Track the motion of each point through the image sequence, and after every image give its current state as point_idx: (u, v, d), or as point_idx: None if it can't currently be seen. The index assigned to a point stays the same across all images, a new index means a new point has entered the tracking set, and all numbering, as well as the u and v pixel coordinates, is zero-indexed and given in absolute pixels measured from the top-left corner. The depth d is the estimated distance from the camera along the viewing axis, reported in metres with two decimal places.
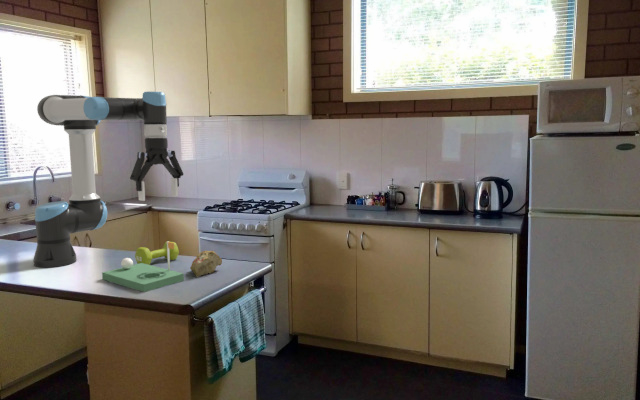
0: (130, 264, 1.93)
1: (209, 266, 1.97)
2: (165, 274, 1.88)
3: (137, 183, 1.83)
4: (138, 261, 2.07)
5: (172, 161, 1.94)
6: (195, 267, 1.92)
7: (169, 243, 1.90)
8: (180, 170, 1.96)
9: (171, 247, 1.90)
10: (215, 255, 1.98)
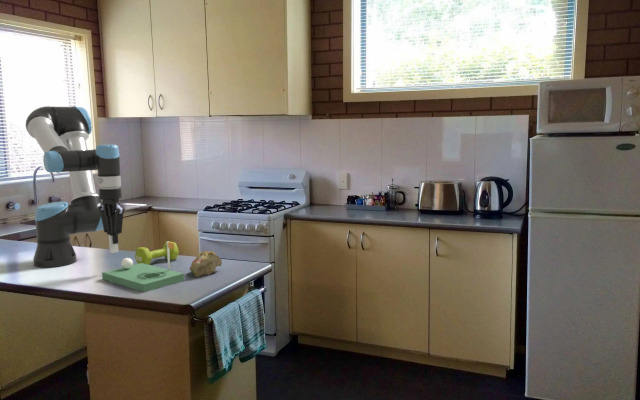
0: (130, 264, 1.93)
1: (208, 267, 1.96)
2: (165, 274, 1.88)
3: None
4: (138, 261, 2.07)
5: None
6: (194, 267, 1.91)
7: (169, 243, 1.90)
8: (115, 228, 1.94)
9: (171, 247, 1.90)
10: (214, 256, 1.97)
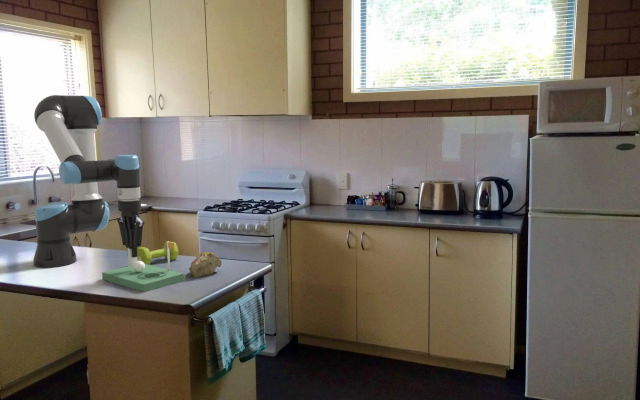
0: None
1: (207, 267, 1.95)
2: (165, 274, 1.88)
3: None
4: None
5: None
6: (192, 268, 1.91)
7: (169, 243, 1.90)
8: (134, 241, 1.88)
9: (171, 247, 1.90)
10: (214, 256, 1.96)
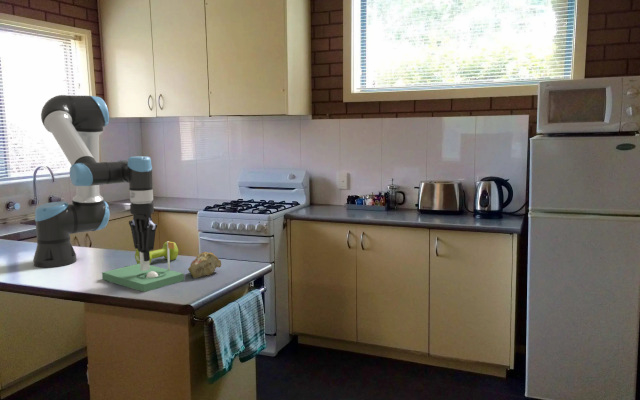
0: None
1: (206, 268, 1.94)
2: (165, 274, 1.88)
3: None
4: (138, 261, 2.07)
5: None
6: (191, 268, 1.90)
7: (169, 243, 1.90)
8: (147, 245, 1.84)
9: (171, 247, 1.90)
10: (213, 257, 1.95)
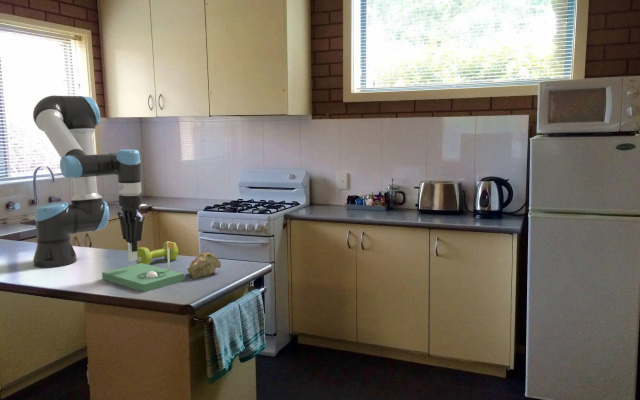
0: None
1: (206, 268, 1.94)
2: (165, 274, 1.88)
3: None
4: (138, 261, 2.07)
5: None
6: (190, 269, 1.90)
7: (169, 243, 1.90)
8: (134, 236, 1.89)
9: (171, 247, 1.90)
10: (213, 257, 1.94)
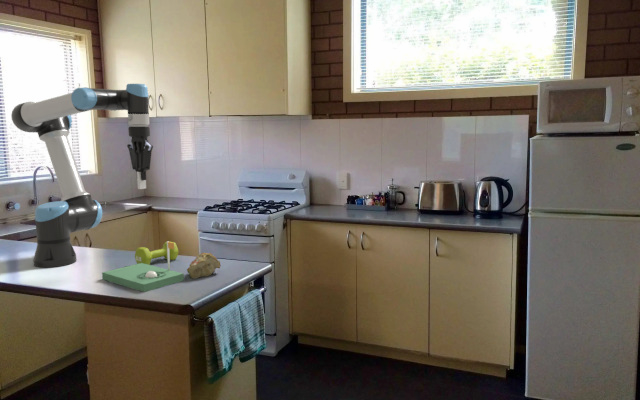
0: None
1: (205, 269, 1.93)
2: (165, 274, 1.88)
3: None
4: (138, 261, 2.07)
5: None
6: (189, 269, 1.89)
7: (169, 243, 1.90)
8: (143, 164, 2.03)
9: (171, 247, 1.90)
10: (212, 258, 1.94)
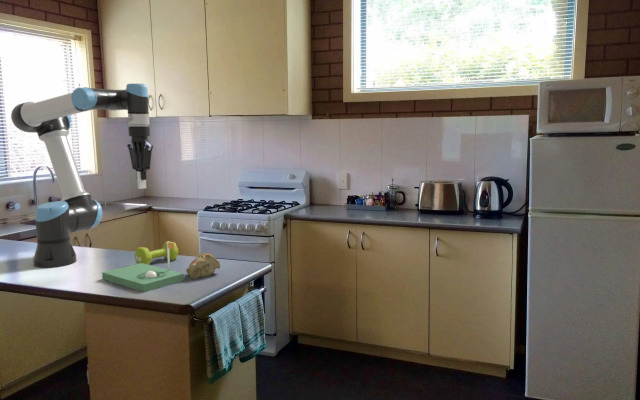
0: None
1: (205, 269, 1.93)
2: (165, 274, 1.88)
3: None
4: (138, 261, 2.07)
5: None
6: (189, 269, 1.89)
7: (169, 243, 1.90)
8: (143, 164, 2.03)
9: (171, 247, 1.90)
10: (212, 258, 1.93)
